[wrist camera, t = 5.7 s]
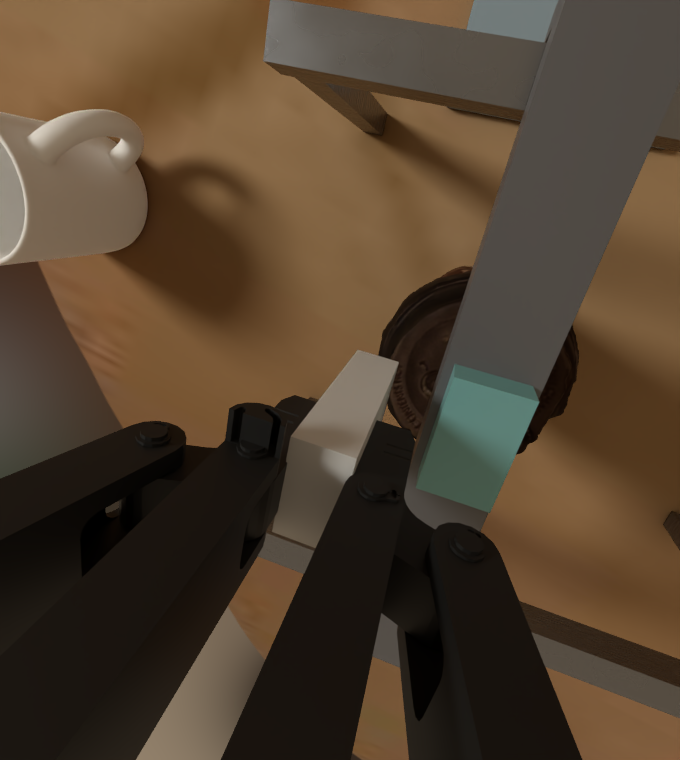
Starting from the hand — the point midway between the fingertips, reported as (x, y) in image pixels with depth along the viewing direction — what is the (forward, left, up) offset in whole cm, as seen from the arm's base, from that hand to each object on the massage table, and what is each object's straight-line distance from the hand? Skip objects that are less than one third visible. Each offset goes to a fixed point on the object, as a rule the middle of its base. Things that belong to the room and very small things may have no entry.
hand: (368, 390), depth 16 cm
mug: (-23, +3, -16) cm, 29 cm away
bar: (+4, 0, -3) cm, 4 cm away
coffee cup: (+4, 0, -16) cm, 17 cm away
